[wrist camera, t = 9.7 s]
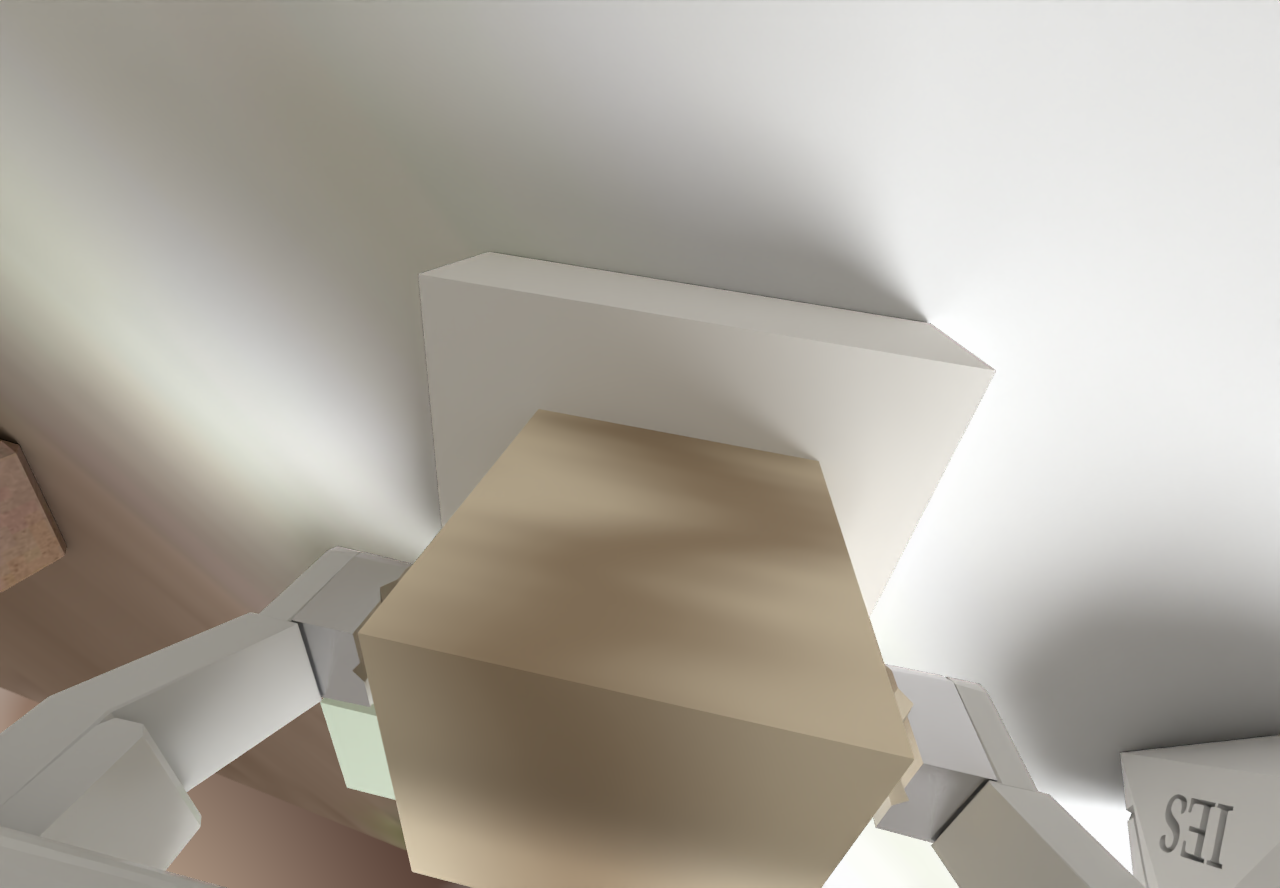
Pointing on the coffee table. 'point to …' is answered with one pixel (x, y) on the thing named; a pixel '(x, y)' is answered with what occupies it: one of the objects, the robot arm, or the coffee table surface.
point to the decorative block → (24, 521)
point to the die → (1205, 814)
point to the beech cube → (634, 671)
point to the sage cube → (358, 746)
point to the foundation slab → (699, 383)
